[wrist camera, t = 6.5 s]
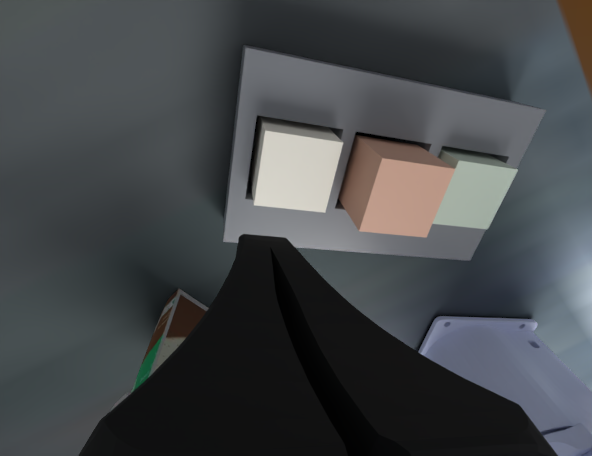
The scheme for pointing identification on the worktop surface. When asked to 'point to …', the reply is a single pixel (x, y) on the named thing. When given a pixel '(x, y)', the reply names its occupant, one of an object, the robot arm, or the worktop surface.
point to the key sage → (473, 188)
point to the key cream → (293, 164)
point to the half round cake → (169, 333)
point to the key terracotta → (393, 187)
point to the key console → (344, 124)
